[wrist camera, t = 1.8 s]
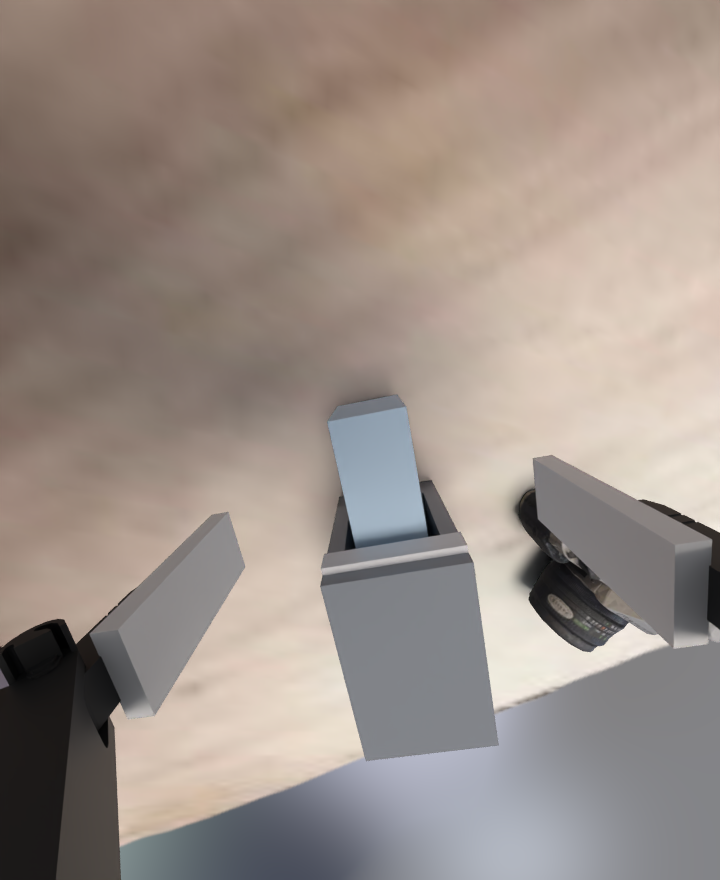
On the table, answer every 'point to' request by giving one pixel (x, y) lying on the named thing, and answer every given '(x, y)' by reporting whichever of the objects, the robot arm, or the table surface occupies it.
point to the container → (3, 681)
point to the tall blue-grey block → (378, 471)
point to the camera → (577, 592)
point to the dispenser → (410, 637)
